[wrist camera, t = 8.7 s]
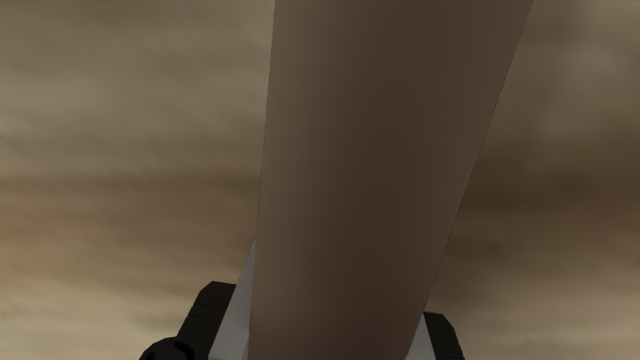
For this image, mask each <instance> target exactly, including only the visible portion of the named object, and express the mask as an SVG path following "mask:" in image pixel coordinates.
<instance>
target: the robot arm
mask: <svg viewBox="0 0 640 360" xmlns="http://www.w3.org/2000/svg"><path fill="white" fill-rule="evenodd" d="M255 247H256V238H255V241H254V243H253V246H252V248H251V251H250V253H249V256H248V258H247V261H246V263H245V266H244V268H243V271H242V273H241V276H240V278H239V281H238V283H237V285H236V284H229V283H223V282H216V281H212V282H210V283H209V284H208V285H207V286H206V287H204V288H203V289H202V290H201V291H200V292H199V294H198V296H197V298H196V300H195V302H194V304H193V307H192V308H191V310H190V311H189V313H188V316H187V317H186V319H185V321H184V323H183V325H182V327H181V329H180V330H179V332H178V334H177V336H176V337H170V338H164V339H162V340H160V341H158V342H156V343H154V344H152V345H151V346H150V347H149V348H148V349H146V350H145V351H144V352H143V354H142V355H141V357H140V359H139V360H247V358H248V345H249V321H250V308H251V296H252V284H253V271H254V259H255ZM405 360H465V358H464V357H463V353H462V350H461V347H460V345H459V342H458V339H457V336H456V333H455V331H454V328H453V327H452V325H451V324H450V323H449V322H448V320H447V319H446V318H445V317H444V315H443V314H437V313H431V312H424V311H423V313H422V316H421V319H420V322H419V325H418V327H417V330H416V333H415V336H414V339H413V342H412V344H411V347H410V350H409V353H408V356H406V357H405Z"/></svg>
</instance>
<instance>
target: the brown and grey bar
mask: <svg viewBox="0 0 640 360" xmlns="http://www.w3.org/2000/svg"><path fill="white" fill-rule="evenodd" d="M532 1H533V0H275V12H274V24H273V37H272V49H271V61H270V74H269V86H268V98H267V111H266V123H265V135H264V148H263V160H262V173H261V185H260V197H259V210H258V222H257V234H256V247H255V259H254V271H253V284H252V296H251V308H250V321H249V345H248V358H247V360H405V357H406V356H408V353H409V350H410V347H411V344H412V342H413V339H414V336H415V333H416V330H417V327H418V325H419V322H420V319H421V316H422V313H423V310H424V308H425V305H426V302H427V299H428V296H429V293H430V291H431V288H432V285H433V282H434V279H435V276H436V273H437V271H438V268H439V265H440V262H441V259H442V256H443V254H444V251H445V248H446V245H447V242H448V239H449V237H450V234H451V231H452V228H453V225H454V222H455V220H456V217H457V214H458V211H459V208H460V205H461V203H462V200H463V197H464V194H465V191H466V188H467V186H468V183H469V180H470V177H471V174H472V171H473V168H474V166H475V163H476V160H477V157H478V154H479V151H480V149H481V146H482V143H483V140H484V137H485V134H486V132H487V129H488V126H489V123H490V120H491V117H492V115H493V112H494V109H495V106H496V103H497V100H498V98H499V95H500V92H501V89H502V86H503V83H504V81H505V78H506V75H507V72H508V69H509V66H510V63H511V61H512V58H513V55H514V52H515V49H516V46H517V44H518V41H519V38H520V35H521V32H522V29H523V27H524V24H525V21H526V18H527V15H528V12H529V10H530V7H531V4H532Z"/></svg>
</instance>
